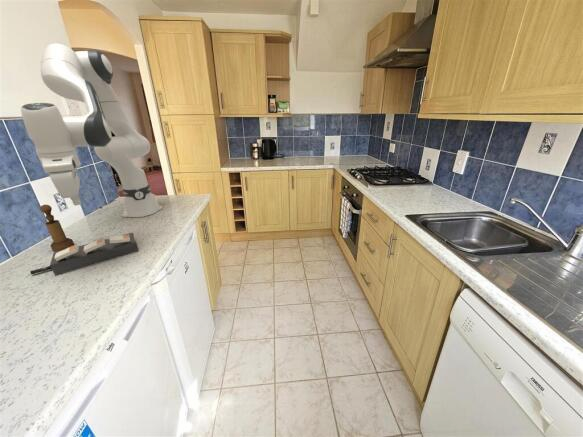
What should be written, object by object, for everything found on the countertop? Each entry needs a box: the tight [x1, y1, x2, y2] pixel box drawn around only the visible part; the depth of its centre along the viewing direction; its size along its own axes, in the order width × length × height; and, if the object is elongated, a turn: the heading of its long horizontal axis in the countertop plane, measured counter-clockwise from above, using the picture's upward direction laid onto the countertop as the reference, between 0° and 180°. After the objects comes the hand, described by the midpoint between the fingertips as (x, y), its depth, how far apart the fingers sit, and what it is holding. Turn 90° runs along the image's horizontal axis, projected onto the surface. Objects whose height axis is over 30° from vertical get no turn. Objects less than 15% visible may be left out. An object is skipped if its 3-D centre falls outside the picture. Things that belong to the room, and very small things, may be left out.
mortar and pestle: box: [39, 204, 75, 253], centre depth 93 cm, size 7×6×18 cm
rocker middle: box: [84, 237, 106, 253], centre depth 86 cm, size 4×6×1 cm, turn 127°
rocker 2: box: [108, 234, 130, 243], centre depth 90 cm, size 4×6×1 cm, turn 127°
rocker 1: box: [54, 244, 79, 261], centre depth 81 cm, size 4×6×1 cm, turn 127°
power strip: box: [29, 232, 139, 276], centre depth 87 cm, size 10×30×5 cm, turn 127°
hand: (78, 204), depth 79 cm, fingers closed
